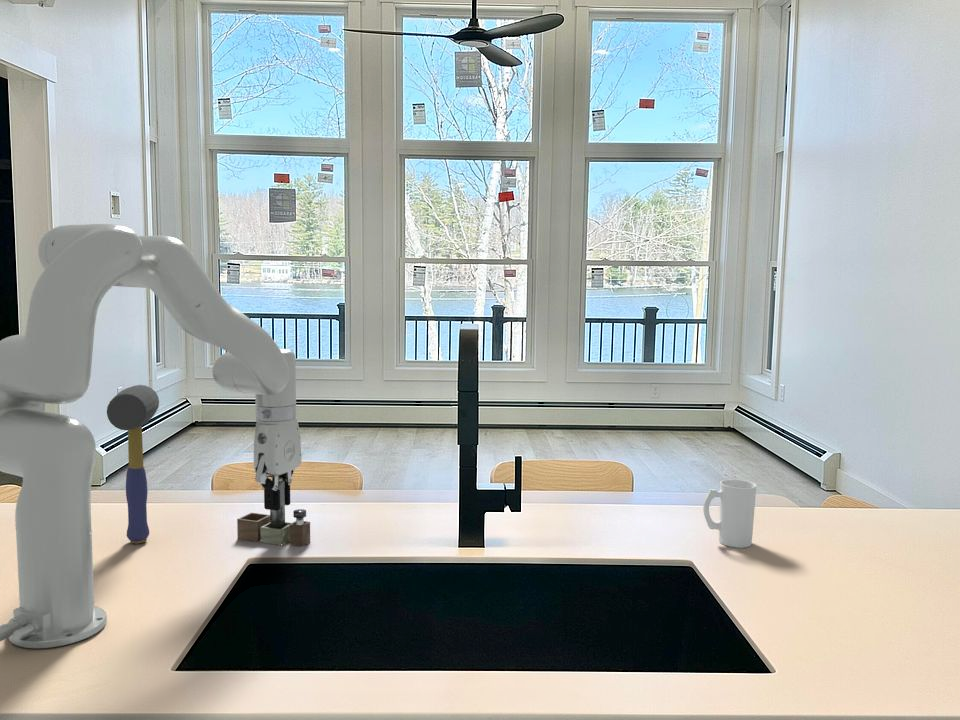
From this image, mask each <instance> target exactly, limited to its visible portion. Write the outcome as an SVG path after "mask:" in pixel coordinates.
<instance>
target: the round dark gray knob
mask: <svg viewBox="0 0 960 720" xmlns="http://www.w3.org/2000/svg"><path fill="white" fill-rule="evenodd" d="M292 515H293V516H292V517H293V518H295V521H296V525H304V521H305V518H306V517H307V510H306V509H304V508H303V509H301V508H299V509H294V510H293V514H292Z"/></svg>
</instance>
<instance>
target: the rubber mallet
mask: <svg viewBox="0 0 960 720" xmlns="http://www.w3.org/2000/svg"><path fill="white" fill-rule="evenodd" d="M159 405H160V398H159V396H158V393H157V392H156V391H155V390H154V389H153V388H151V387H150V386H147V385H143V384H136V385H132V386H129V387H127V388H124V389H123V390H120V391H119V392H117V394H116V395H115V396H114V397H113V398H112V399H111V400H110V401H109V403H108V405H107V407H106V416H107V420H109V423H110V424H111V425H112V426H113V427H114V428H115V429H116V428H117V429H119V430H120V431H127V446H128V453H127V454H128V455H127V456H128V468H127V470H126V477H125V478H126V479H125V496H126V503H127V514H128V515H127V517H128V519H127V521H128V523H127V529H126V538H127V539H128V541H130V543H131V544H141V543H145V542H146V541H148V540H147V539H148V538H149V536H150V528H149V524H148V515H147V514H148V513H147V503H148V501H147V500H148V493H149V492H148V480H147V474H146V469H145V467H144V453H143V452H144V447H143V425H145V424H147V423H148V422H149V421H150V420H151V419H152V418H153V417H154V415H155V414H156V413H157V410H158V409H159V407H160V406H159Z"/></svg>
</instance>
